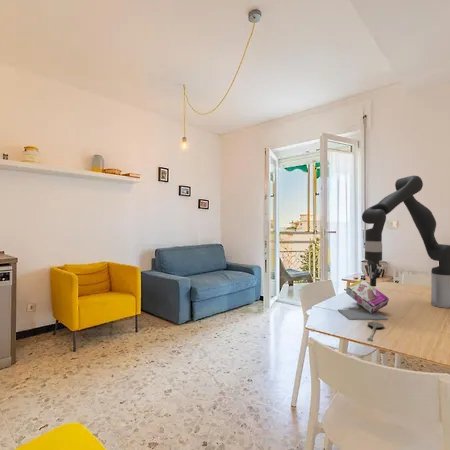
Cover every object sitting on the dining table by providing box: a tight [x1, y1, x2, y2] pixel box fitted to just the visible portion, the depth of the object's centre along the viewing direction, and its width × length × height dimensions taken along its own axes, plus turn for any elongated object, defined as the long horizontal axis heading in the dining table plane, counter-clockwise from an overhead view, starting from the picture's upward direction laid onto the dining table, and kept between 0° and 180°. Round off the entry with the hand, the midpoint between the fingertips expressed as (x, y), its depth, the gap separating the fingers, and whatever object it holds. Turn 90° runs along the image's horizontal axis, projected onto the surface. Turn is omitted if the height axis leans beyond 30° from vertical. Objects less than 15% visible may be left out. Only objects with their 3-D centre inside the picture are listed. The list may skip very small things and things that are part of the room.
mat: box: [337, 309, 389, 321], centre depth 142 cm, size 18×14×1 cm
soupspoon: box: [367, 321, 385, 342], centre depth 121 cm, size 22×3×7 cm
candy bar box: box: [345, 278, 390, 314], centre depth 149 cm, size 11×5×16 cm
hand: (373, 286), depth 142 cm, fingers closed
